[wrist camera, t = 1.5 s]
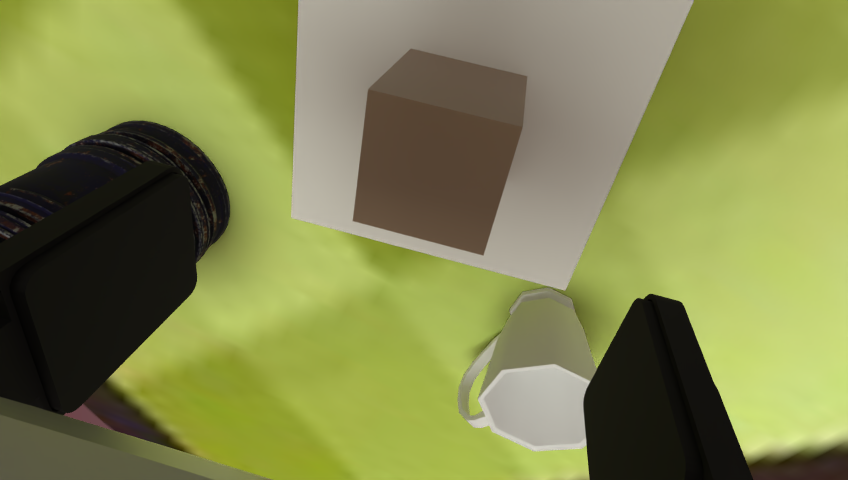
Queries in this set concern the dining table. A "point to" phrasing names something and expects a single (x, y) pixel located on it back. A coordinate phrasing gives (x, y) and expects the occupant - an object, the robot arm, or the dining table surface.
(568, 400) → the cup
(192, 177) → the storage jar
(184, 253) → the robot arm
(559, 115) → the lid
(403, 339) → the dining table surface
